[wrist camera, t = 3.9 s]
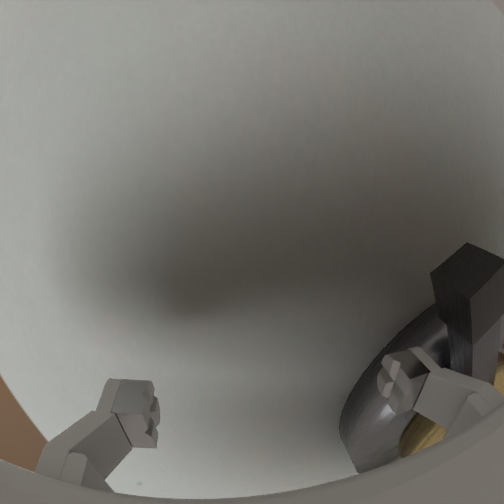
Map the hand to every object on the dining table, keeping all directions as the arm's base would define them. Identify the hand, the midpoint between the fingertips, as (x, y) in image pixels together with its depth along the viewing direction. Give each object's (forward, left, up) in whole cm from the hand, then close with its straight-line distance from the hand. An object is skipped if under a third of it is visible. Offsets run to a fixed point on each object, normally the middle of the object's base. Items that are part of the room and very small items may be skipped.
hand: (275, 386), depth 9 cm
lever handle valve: (-11, -4, -1) cm, 12 cm away
